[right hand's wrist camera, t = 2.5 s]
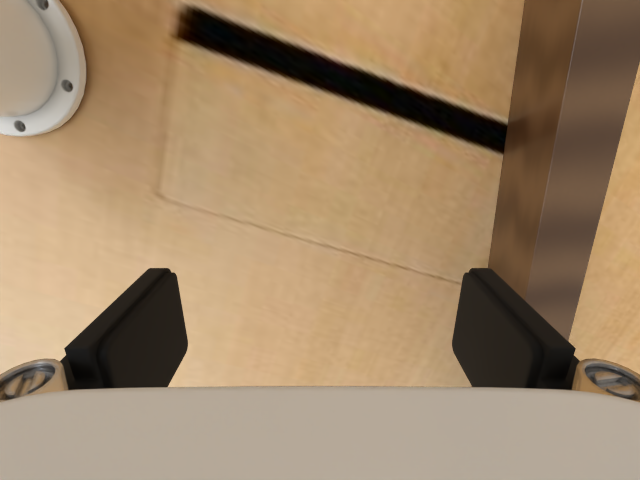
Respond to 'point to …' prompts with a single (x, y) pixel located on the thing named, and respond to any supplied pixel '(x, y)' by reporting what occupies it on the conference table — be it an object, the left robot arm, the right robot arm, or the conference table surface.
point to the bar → (562, 146)
